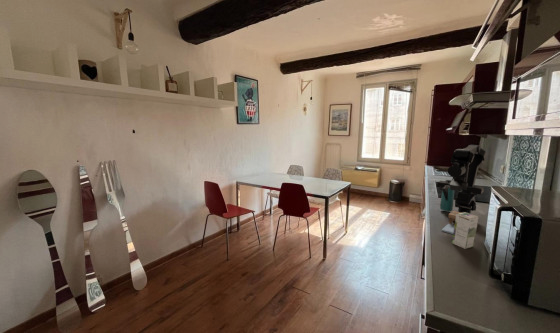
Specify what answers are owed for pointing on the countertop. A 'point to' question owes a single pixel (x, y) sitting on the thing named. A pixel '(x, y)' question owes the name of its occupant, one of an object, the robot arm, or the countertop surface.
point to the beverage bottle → (449, 203)
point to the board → (448, 228)
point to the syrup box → (465, 230)
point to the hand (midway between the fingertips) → (456, 202)
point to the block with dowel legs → (452, 216)
